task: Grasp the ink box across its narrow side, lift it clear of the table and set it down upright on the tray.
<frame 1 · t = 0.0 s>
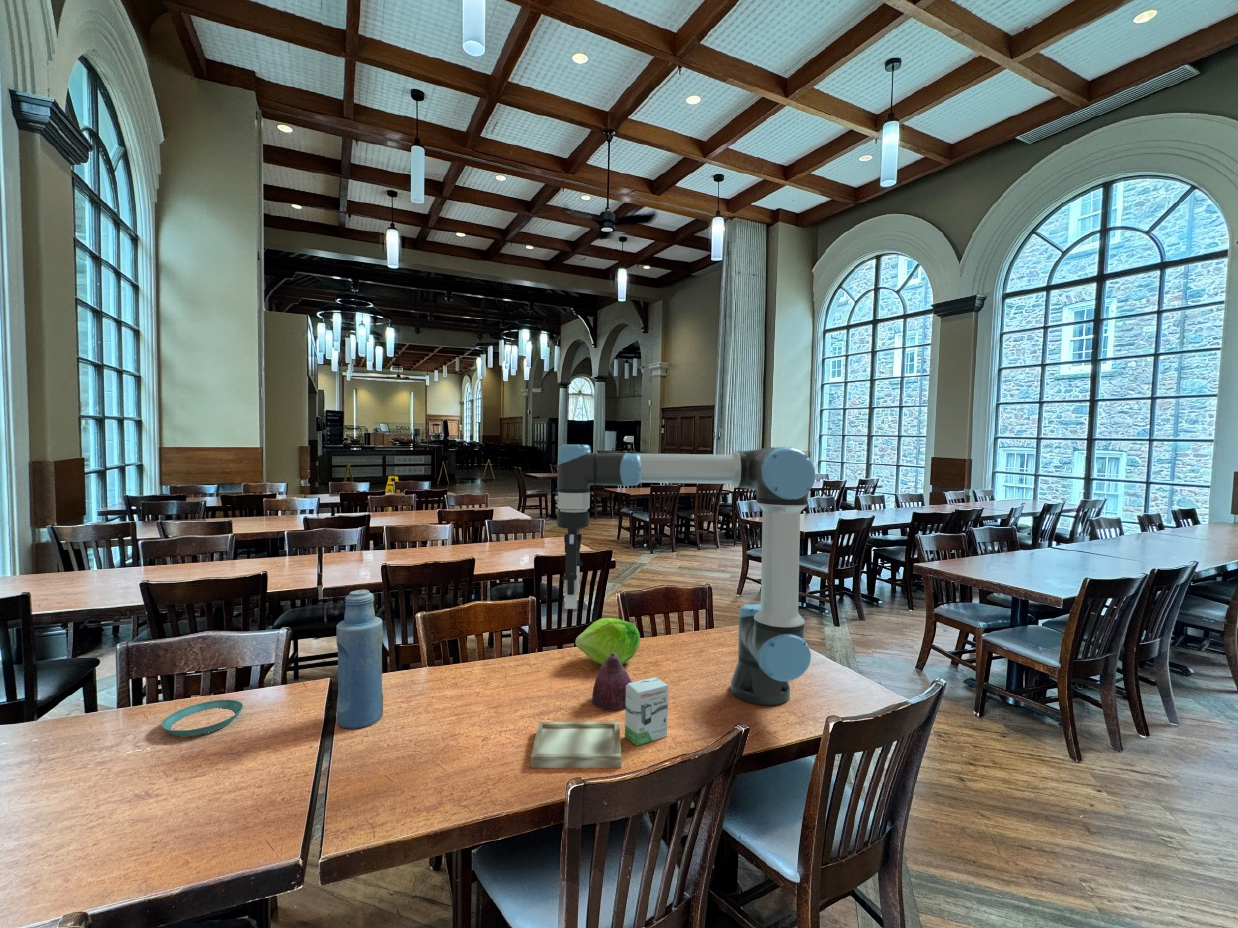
hand: (572, 600, 130), 28 cm above the table, fingers open, 13 cm apart
ink box: (646, 737, 123), on the table
bottle: (360, 720, 128), on the table
vegetable: (612, 702, 139), on the table
lettuce: (607, 663, 164), on the table
teal round ring piece: (204, 726, 125), on the table
tray: (577, 748, 117), on the table
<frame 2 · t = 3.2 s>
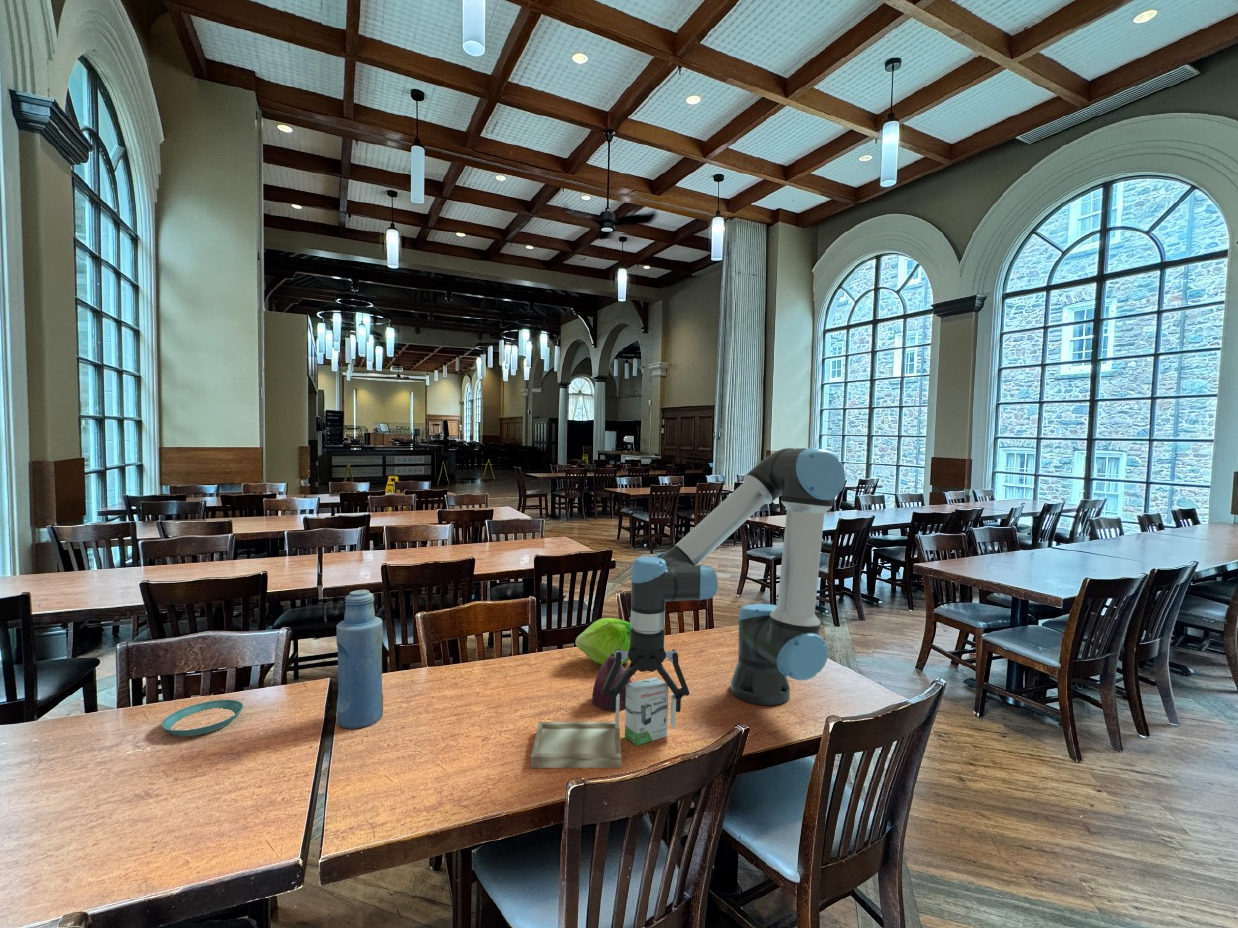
hand: (645, 725, 122), 2 cm above the table, fingers open, 12 cm apart
nothing on the table moved.
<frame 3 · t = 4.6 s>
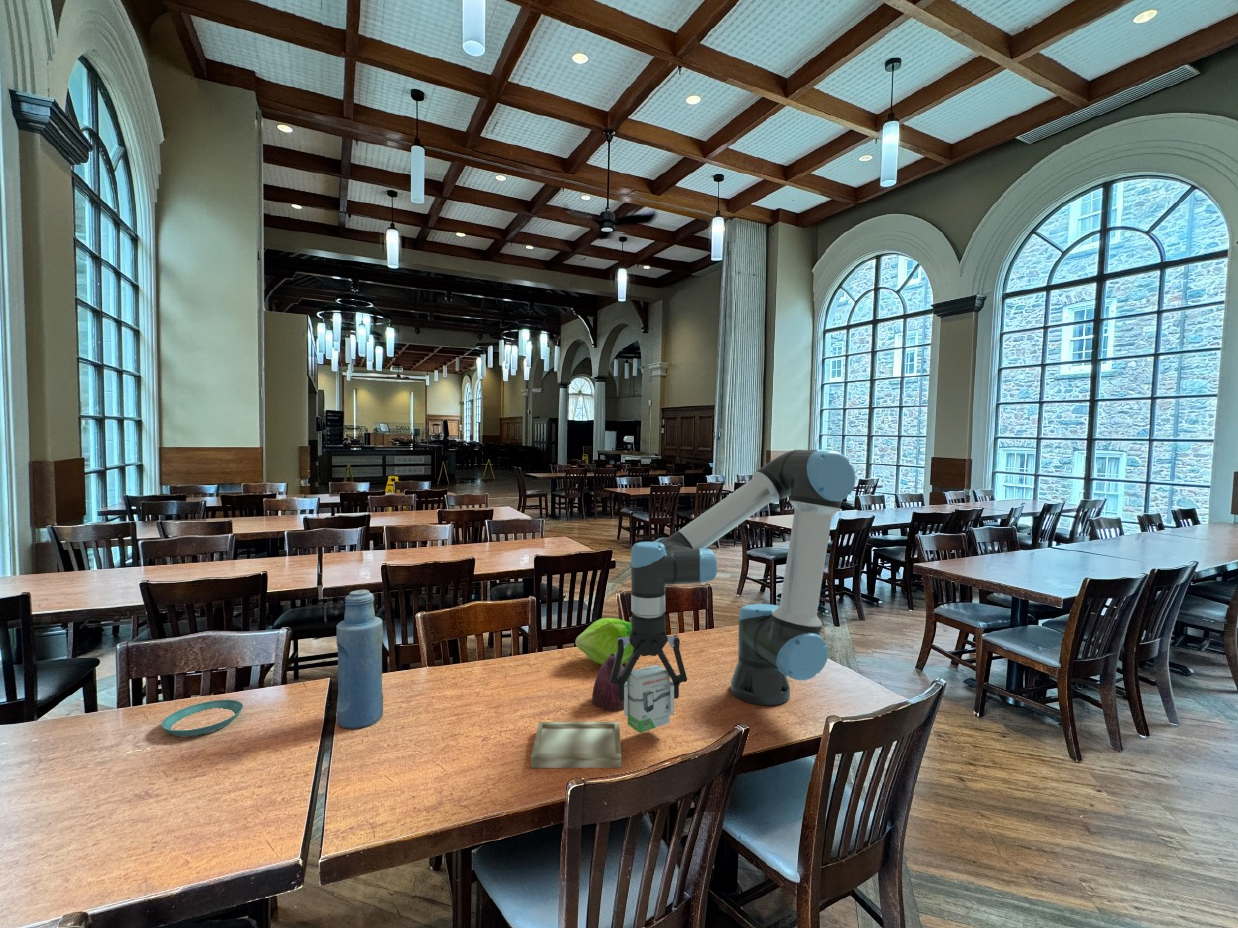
hand: (648, 712, 123), 5 cm above the table, fingers closed on ink box, 9 cm apart
ink box: (649, 724, 123), point 3 cm above the table, touching gripper
everything else where it was.
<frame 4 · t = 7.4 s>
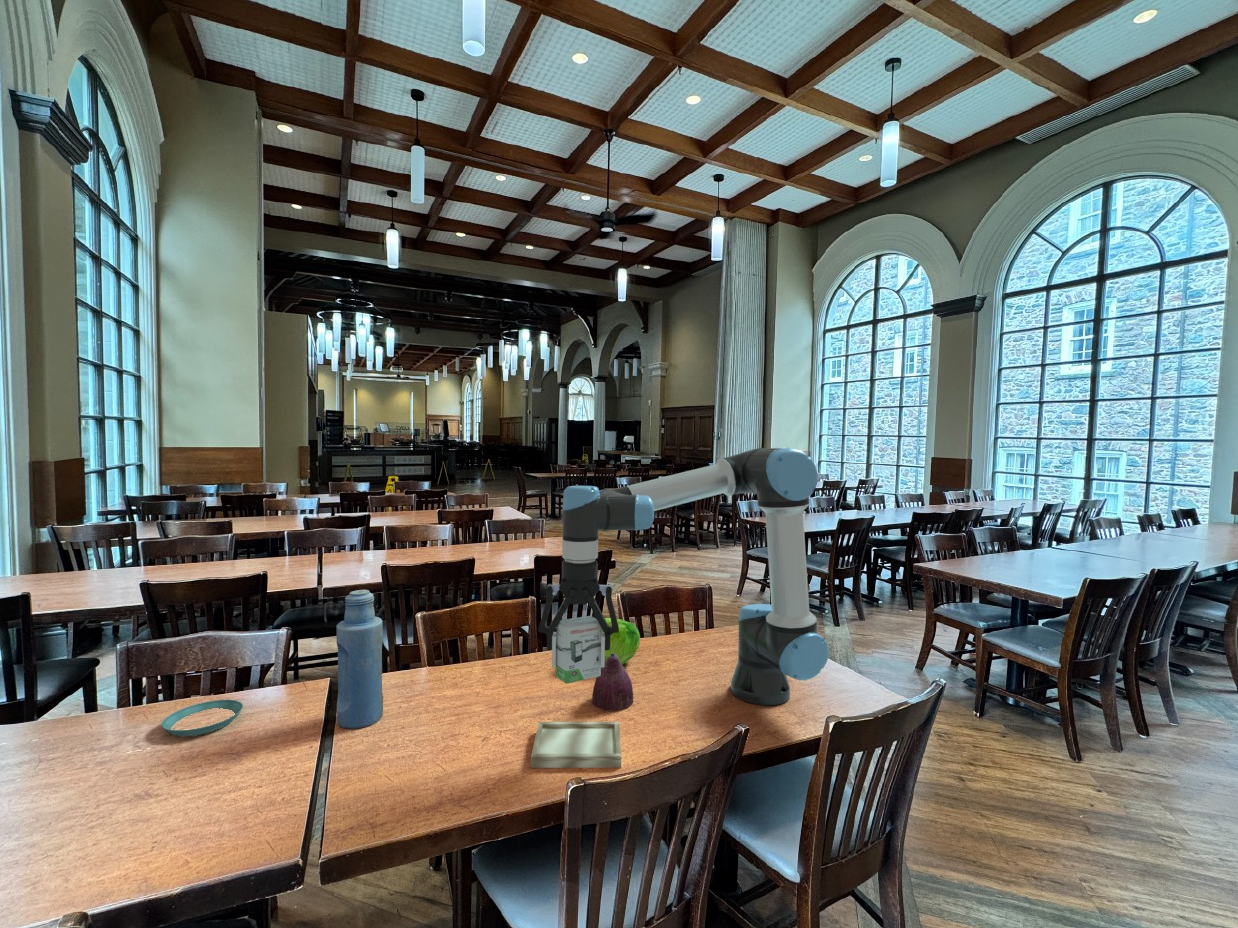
hand: (578, 664, 117), 18 cm above the table, fingers closed on ink box, 9 cm apart
ink box: (578, 677, 117), point 15 cm above the table, touching gripper
everything else where it was.
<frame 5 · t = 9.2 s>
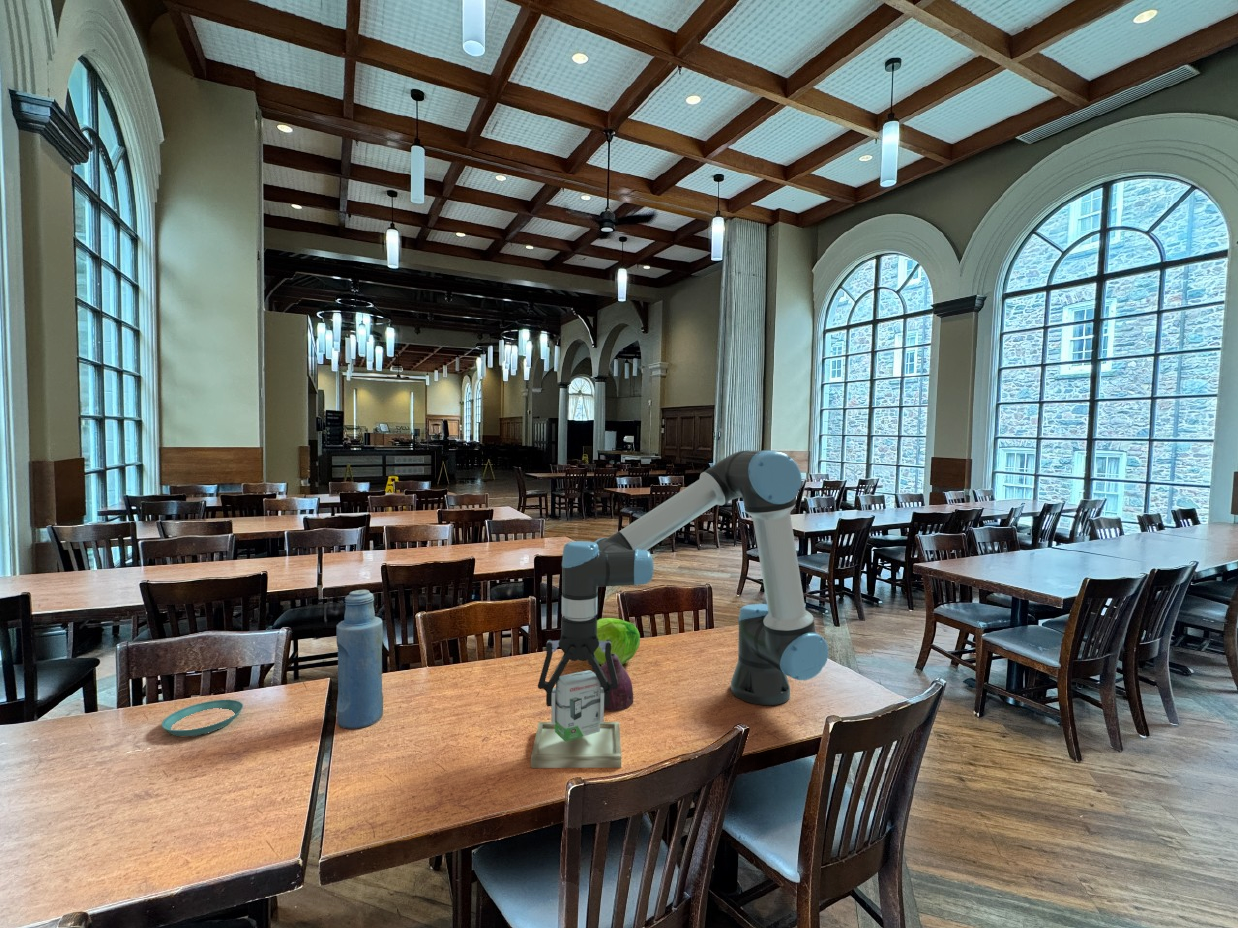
hand: (577, 720, 117), 6 cm above the table, fingers closed on ink box, 9 cm apart
ink box: (577, 732, 117), point 3 cm above the table, touching gripper
everything else where it was.
when the fingers open (5 cm above the table, at t = 10.6 s): ink box stays where it is, resting on tray.
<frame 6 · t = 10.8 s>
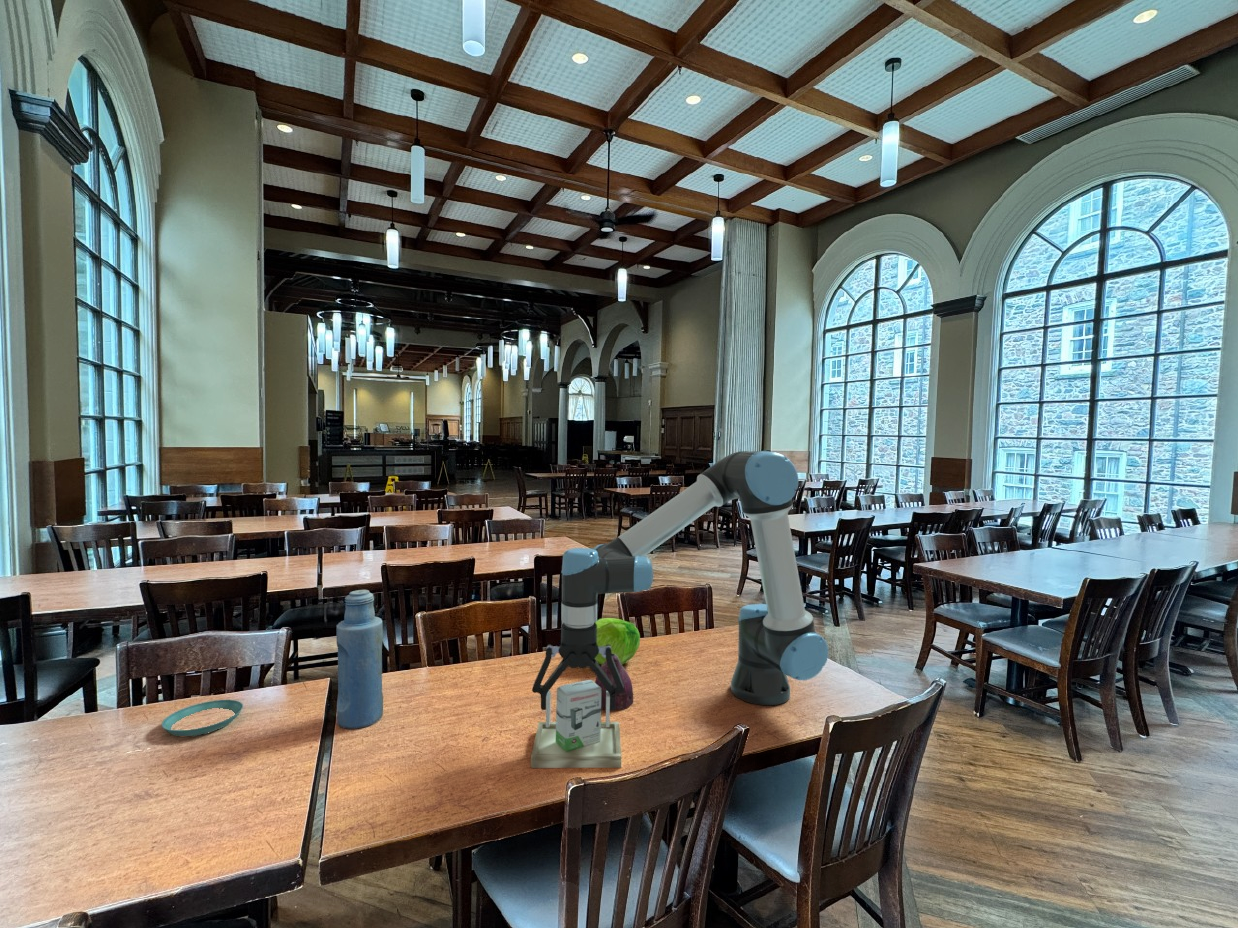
hand: (577, 724, 117), 5 cm above the table, fingers open, 12 cm apart
ink box: (578, 742, 117), point 1 cm above the table, touching tray
everything else where it was.
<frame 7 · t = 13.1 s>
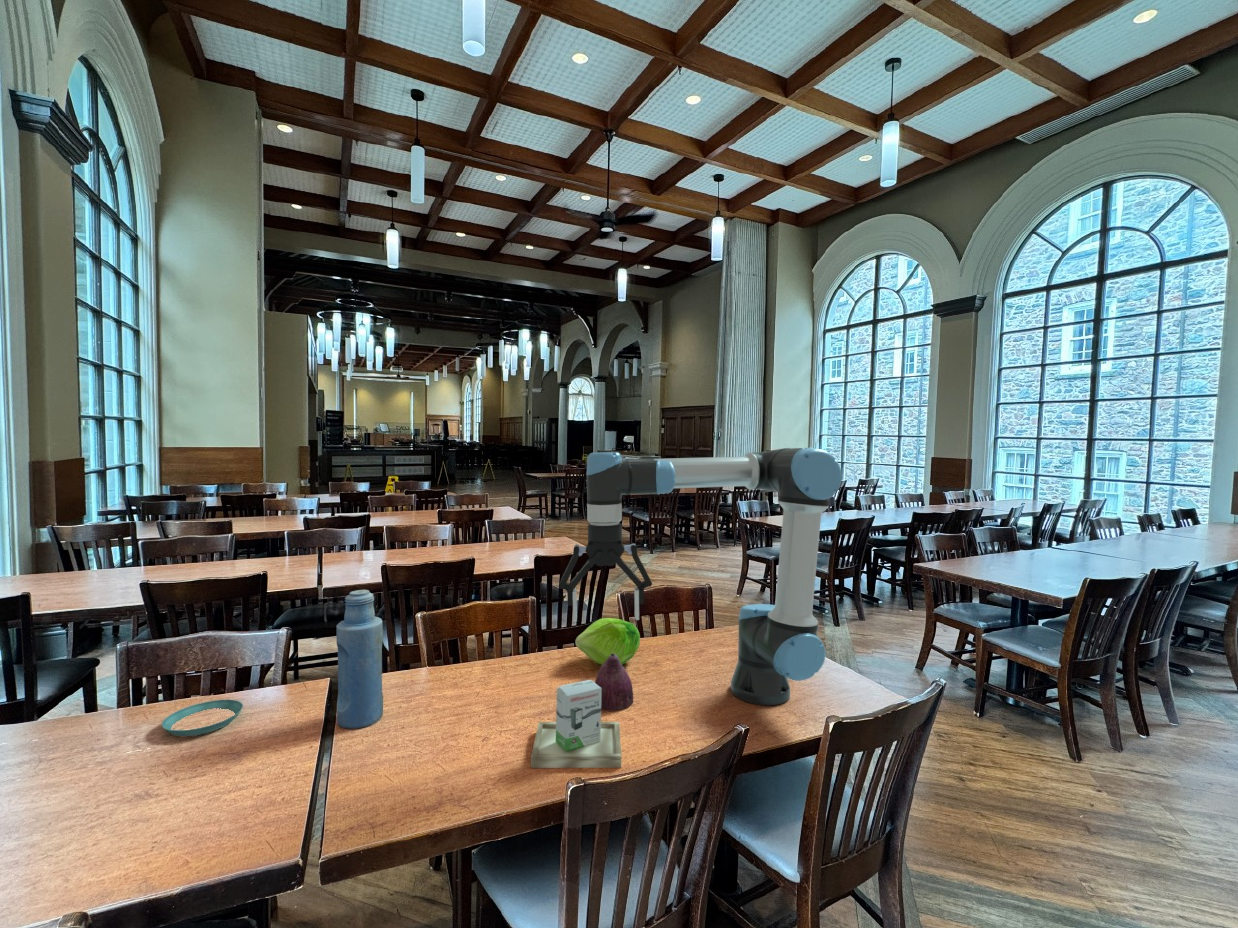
hand: (606, 619, 121), 26 cm above the table, fingers open, 13 cm apart
nothing on the table moved.
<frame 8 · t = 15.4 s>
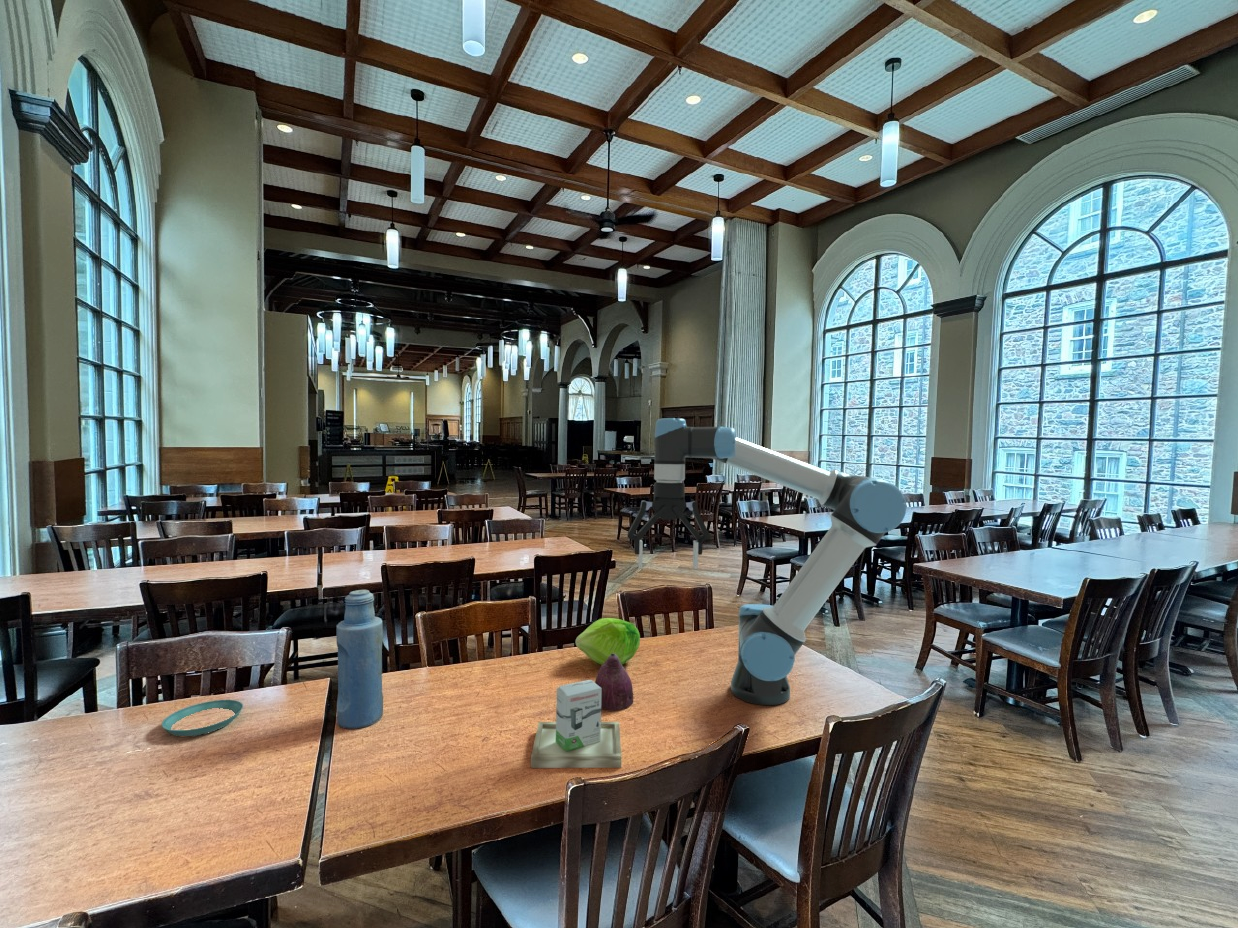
hand: (667, 567, 136), 35 cm above the table, fingers open, 13 cm apart
nothing on the table moved.
at the end: ink box inside the target area on the tray (0.1 cm from its centre), point 1.3 cm above the tray's base; ink box tilted 0°; the gripper is holding nothing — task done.
